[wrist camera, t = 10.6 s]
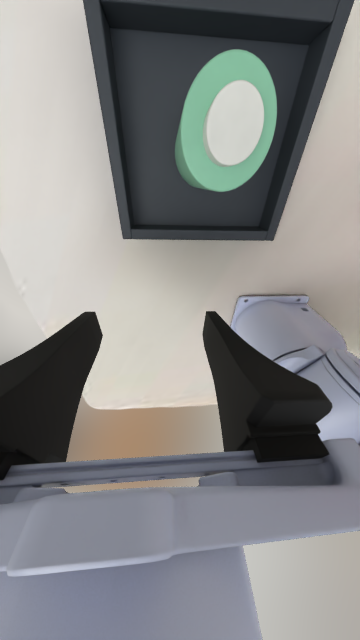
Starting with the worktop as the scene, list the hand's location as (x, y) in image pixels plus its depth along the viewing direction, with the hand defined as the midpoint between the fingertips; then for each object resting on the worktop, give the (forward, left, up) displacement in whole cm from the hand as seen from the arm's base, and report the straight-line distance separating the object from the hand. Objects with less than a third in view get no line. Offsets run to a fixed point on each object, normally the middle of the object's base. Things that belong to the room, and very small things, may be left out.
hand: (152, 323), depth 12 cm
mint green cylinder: (-4, -9, -9) cm, 14 cm away
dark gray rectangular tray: (-4, -9, -10) cm, 14 cm away
